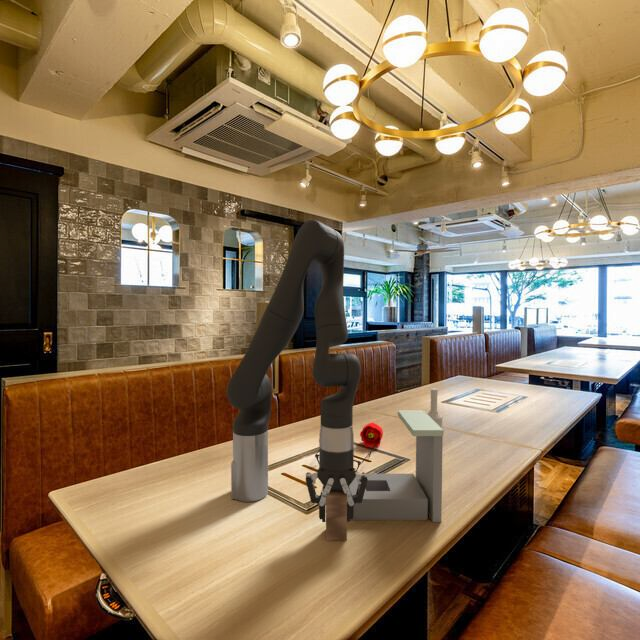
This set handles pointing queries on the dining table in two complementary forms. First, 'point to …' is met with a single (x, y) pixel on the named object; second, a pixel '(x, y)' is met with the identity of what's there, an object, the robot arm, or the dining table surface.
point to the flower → (371, 435)
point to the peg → (336, 516)
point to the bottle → (435, 408)
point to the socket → (390, 498)
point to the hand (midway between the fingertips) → (336, 519)
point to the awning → (427, 457)
